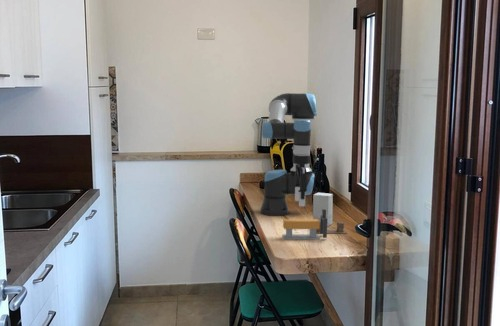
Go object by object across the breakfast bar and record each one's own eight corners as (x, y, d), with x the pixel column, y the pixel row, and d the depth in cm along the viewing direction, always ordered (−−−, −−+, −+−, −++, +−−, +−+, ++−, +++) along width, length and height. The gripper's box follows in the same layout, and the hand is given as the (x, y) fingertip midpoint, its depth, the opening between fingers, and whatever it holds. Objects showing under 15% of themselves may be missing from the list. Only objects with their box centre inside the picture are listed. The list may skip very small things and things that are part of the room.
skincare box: (332, 224, 259) (333, 193, 257) (327, 227, 253) (328, 196, 251) (317, 221, 263) (318, 191, 261) (311, 224, 257) (313, 194, 255)
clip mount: (282, 235, 237) (282, 226, 236) (316, 235, 238) (317, 225, 237) (284, 239, 230) (284, 229, 230) (319, 239, 232) (320, 229, 231)
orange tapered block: (283, 226, 235) (283, 219, 234) (317, 226, 236) (317, 219, 236) (284, 229, 231) (284, 221, 230) (319, 228, 232) (319, 221, 232)
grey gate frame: (319, 233, 238) (320, 207, 237) (323, 233, 238) (324, 207, 237) (323, 237, 232) (324, 211, 230) (326, 237, 232) (327, 211, 230)
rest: (310, 230, 247) (311, 221, 246) (343, 230, 248) (344, 221, 247) (313, 233, 241) (313, 224, 240) (346, 233, 242) (347, 224, 241)
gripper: (289, 151, 240) (287, 198, 243) (297, 157, 217) (295, 209, 220) (305, 151, 240) (303, 198, 243) (314, 158, 218) (313, 209, 221)
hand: (299, 203), depth 232 cm, fingers open, 10 cm apart
